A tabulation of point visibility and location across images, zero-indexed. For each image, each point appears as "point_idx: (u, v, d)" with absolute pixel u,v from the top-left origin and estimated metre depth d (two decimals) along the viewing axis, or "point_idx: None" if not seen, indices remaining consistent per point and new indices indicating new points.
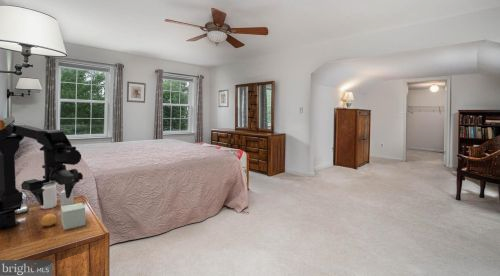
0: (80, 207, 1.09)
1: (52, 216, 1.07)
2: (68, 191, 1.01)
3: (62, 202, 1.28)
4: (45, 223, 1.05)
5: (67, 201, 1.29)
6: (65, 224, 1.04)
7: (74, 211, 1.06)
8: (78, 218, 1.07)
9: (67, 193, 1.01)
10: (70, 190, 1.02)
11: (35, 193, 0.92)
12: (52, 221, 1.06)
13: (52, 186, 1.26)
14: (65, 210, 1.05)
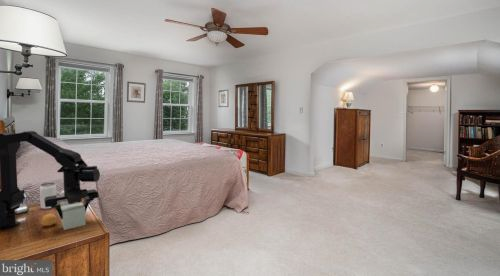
0: (80, 207, 1.08)
1: (52, 216, 1.07)
2: None
3: (62, 202, 1.28)
4: (45, 223, 1.05)
5: (67, 201, 1.29)
6: (65, 224, 1.04)
7: (74, 211, 1.06)
8: (78, 218, 1.07)
9: None
10: (85, 207, 1.11)
11: None
12: (52, 221, 1.06)
13: (52, 186, 1.26)
14: (65, 210, 1.05)
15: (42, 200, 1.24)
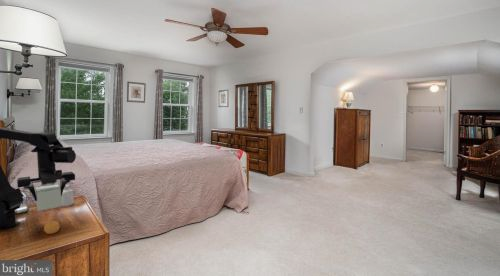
0: (55, 188, 1.06)
1: None
2: None
3: (62, 202, 1.28)
4: None
5: (67, 201, 1.29)
6: (39, 205, 1.01)
7: (48, 192, 1.03)
8: (53, 199, 1.04)
9: None
10: (61, 189, 1.08)
11: None
12: None
13: None
14: (39, 191, 1.02)
15: None
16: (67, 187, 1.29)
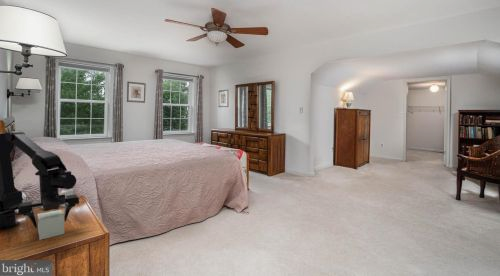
0: (58, 215, 1.00)
1: None
2: (65, 214, 1.03)
3: None
4: None
5: None
6: (41, 233, 0.96)
7: (51, 219, 0.97)
8: (56, 227, 0.99)
9: (64, 216, 1.03)
10: (66, 214, 1.03)
11: None
12: None
13: None
14: (41, 218, 0.97)
15: None
16: None
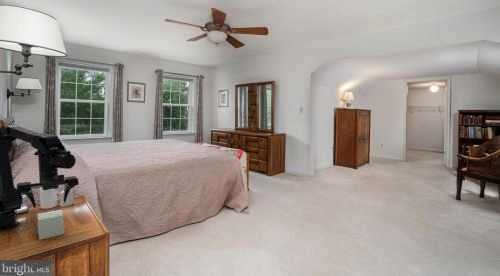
0: (58, 215, 1.00)
1: None
2: (64, 196, 1.02)
3: (62, 202, 1.28)
4: None
5: (67, 201, 1.29)
6: (41, 233, 0.96)
7: (51, 219, 0.97)
8: (56, 227, 0.99)
9: (63, 198, 1.02)
10: (65, 195, 1.02)
11: None
12: None
13: None
14: (41, 218, 0.97)
15: (42, 200, 1.24)
16: None
